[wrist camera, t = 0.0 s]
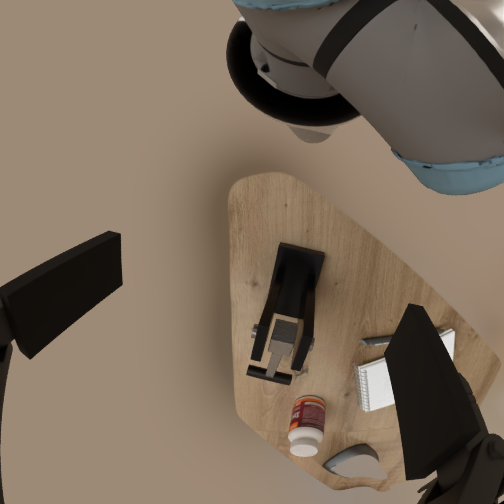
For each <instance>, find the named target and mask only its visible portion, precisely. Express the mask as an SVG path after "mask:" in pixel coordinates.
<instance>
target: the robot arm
mask: <svg viewBox="0 0 504 504" xmlns="http://www.w3.org/2000/svg"><path fill="white" fill-rule="evenodd" d="M232 1H233V2H234V4H235V5H236V7H237V8H238V10H239V11H240V13H241V15H242V16H243V18H244V19H245V21H246V23H247V24H248V26H249V27H250V29H251V31H252V32H253V33H252V37H251V44H250V49H251V56H252V59H253V62H254V64H255V66H256V68H257V69H258V74H259V75H260V76H262V77H263V78H264V79H265V80H266V81H267V82H268V83H270V84H271V85H272V86H273V87H274V88H276V89H278V90H280V91H282V92H284V93H286V94H289V95H291V96H295V97H299V98H305V99H322V98H328V97H331V96H335V95H337V94H341V95H342V96H343V97H344V98H345V99H346V100H347V101H348V102H350V103H351V104H352V105H353V106H354V107H355V108H356V109H357V110H358V111H359V112H360V114H361V115H362V116H363V117H364V118H366V120H367V121H368V122H369V123H370V124H371V125H372V126H373V127H374V128H375V130H376V131H377V132H378V133H379V134H380V135H381V136H382V137H383V138H384V140H385V141H386V142H387V143H388V144H389V145H390V147H391V151H392V152H393V154H394V155H395V156H396V157H397V158H398V159H400V160H401V161H403V162H404V163H405V164H406V165H407V166H408V168H409V169H410V170H411V171H412V172H413V174H414V175H415V176H416V177H417V179H418V180H419V181H420V182H421V183H422V184H423V185H424V186H426V187H427V188H430V189H432V190H434V191H436V192H438V193H441V194H446V195H468V194H473V193H477V192H481V191H485V190H488V189H490V188H493V187H495V186H497V185H499V184H501V183H503V182H504V0H232ZM122 284H123V282H122V265H121V234H120V233H116V232H112V231H107V232H105V233H103V234H101V235H98V236H96V237H94V238H92V239H90V240H88V241H86V242H84V243H82V244H79V245H78V246H75V247H73V248H71V249H69V250H67V251H65V252H63V253H61V254H59V255H57V256H55V257H54V258H52V259H50V260H48V261H46V262H44V263H42V264H40V265H38V266H37V267H35V268H33V269H31V270H29V271H27V272H26V273H24V274H22V275H20V276H19V277H17V278H15V279H13V280H12V281H10V282H8V283H6V284H5V285H3V286H1V287H0V439H1V421H2V409H3V401H4V393H5V386H6V380H7V375H8V369H9V364H10V359H11V355H12V351H13V347H12V344H11V341H12V340H14V339H15V340H16V343H17V345H18V348H19V350H20V351H21V352H22V353H23V354H24V355H25V356H26V357H27V358H29V359H32V358H33V357H34V356H35V355H36V354H37V353H39V352H40V351H41V350H42V349H43V348H44V347H46V346H47V345H48V344H49V343H50V342H51V341H53V340H54V339H55V338H56V337H57V336H58V335H60V334H61V333H62V332H63V331H65V330H66V329H67V328H68V327H69V326H71V325H72V324H73V323H74V322H76V321H77V320H78V319H79V318H81V317H82V316H83V315H84V314H85V313H87V312H88V311H89V310H91V309H92V308H93V307H94V306H96V305H97V304H98V303H100V301H102V300H103V299H105V298H106V297H107V296H109V295H110V294H111V293H113V292H114V291H115V290H116V289H118V288H119V287H120V286H122ZM384 355H385V359H386V363H387V368H388V372H389V376H390V381H391V385H392V390H393V395H394V400H395V405H396V410H397V416H398V422H399V428H400V434H401V441H402V448H403V456H404V465H405V474H406V480H415V479H423V478H426V477H427V476H428V475H430V474H431V473H432V472H434V471H435V470H436V471H437V477H436V478H435V479H433V480H432V481H431V482H429V483H428V484H426V485H425V486H423V487H422V488H420V489H419V490H418V493H420V492H422V491H423V490H425V489H427V490H426V491H425V493H424V494H423V495H422V498H421V499H420V500H419V502H418V503H417V504H498V498H499V497H500V496H502V495H503V494H504V440H503V439H502V438H501V437H500V436H499V435H496V434H489V433H488V430H487V427H486V425H485V422H484V419H483V417H482V414H481V412H480V409H479V407H478V404H476V399H475V397H474V395H472V394H473V392H472V390H471V388H470V386H469V383H468V382H467V381H466V379H465V378H464V377H463V376H462V375H461V373H458V372H457V370H456V368H455V366H454V363H453V361H452V359H451V357H450V355H449V353H448V351H447V349H446V347H445V345H444V343H443V341H442V340H441V338H440V336H439V334H438V332H437V330H436V328H435V327H434V325H433V323H432V321H431V319H430V318H429V316H428V314H427V312H426V311H425V309H424V307H423V306H419V305H414V304H410V303H409V304H408V306H407V308H406V310H405V313H404V315H403V317H402V319H401V321H400V323H399V325H398V327H397V329H396V331H395V333H394V335H393V337H392V339H391V341H390V343H389V345H388V347H387V348H386V350H385V352H384ZM0 443H1V440H0ZM0 459H1V458H0ZM0 461H1V460H0ZM0 504H4V498H3V490H2V479H1V462H0ZM499 504H504V501H502V502H501V503H499Z"/></svg>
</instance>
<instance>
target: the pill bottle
mask: <svg viewBox="0 0 504 504" xmlns="http://www.w3.org/2000/svg"><path fill="white" fill-rule="evenodd" d="M324 423H325V403H324V401H323V400H322V399H320V398H318V397H315V396H305V397H301V398H299V399H297V400H296V401H295V403H294V405H293V411H292V417H291V423H290V428H289V434H288V439H289V441H290V442H291V447H290V452H291V453H292V454H294V455H296V456H301V457H308V456H313V455H315V454H316V453H317V452H318V447H319V446H318V444H319V443H321V442H322V440H323V436H324Z"/></svg>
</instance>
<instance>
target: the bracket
mask: <svg viewBox="0 0 504 504" xmlns="http://www.w3.org/2000/svg"><path fill="white" fill-rule="evenodd" d="M324 257H325V254H324V252H320V251H315V250H311V249H307V248H303V247H298V246H294V245H290V244H286V243H281V242H280V244H279V248H278V252H277V257H276V262H275V266H274V271H273V275H272V280H271V285H270V289H269V294H268V298H267V301H266V304H265V307H264V310H263V313H262V316H261V318H260V321H259V324H258V325H257V324H255V325H254V327H253V331H252V335H251V338H255V341H254V346H253V350H252V354H251V360H255V361H259V362H260V361H261V358H262V355H263V351H264V348H265V344H266V341H267V338H268V334H269V331H270V327H271V324H272V320H273V317H274V313H277V314H281V315H285V316H289V317H294V318H298V323H297V324H298V330H297V335H296V339H295V344H294V350H293V357H292V363H291V369H292V370H297V371H301V368H302V366H303V363H304V361H305V358H306V356H307V353H308V351H310V352H311V351H312V349H313V345H314V338H313V335H314V313H315V288H316V285H317V282H318V278H319V275H320V271H321V268H322V264H323V261H324Z"/></svg>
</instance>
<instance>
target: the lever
mask: <svg viewBox="0 0 504 504" xmlns="http://www.w3.org/2000/svg"><path fill="white" fill-rule="evenodd" d="M297 330H298V324H297V323H293V322H288V321H284V320H280V319H276V322H275V326H274V329H273V333H272V337H271V341H270V344H269V348H268V352H272V355H271V358H270V361H269V364H268V367H267V369H265V368H261V367H257V366H254V365H249V367H248V370H247V374H246V375H248V376H252V377H256V378H260V379H264V380H268V381H272V382H276V383H280V384H285V385H290V383H291V380H292V375H291V374H286V373H282V372H278V371H276V370H277V367H278V365H279V363H280V360H281V358H282V355H285V356H289V355H290V353H291V351H292V349H293V347H294V344H295V339H296V335H297Z"/></svg>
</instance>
